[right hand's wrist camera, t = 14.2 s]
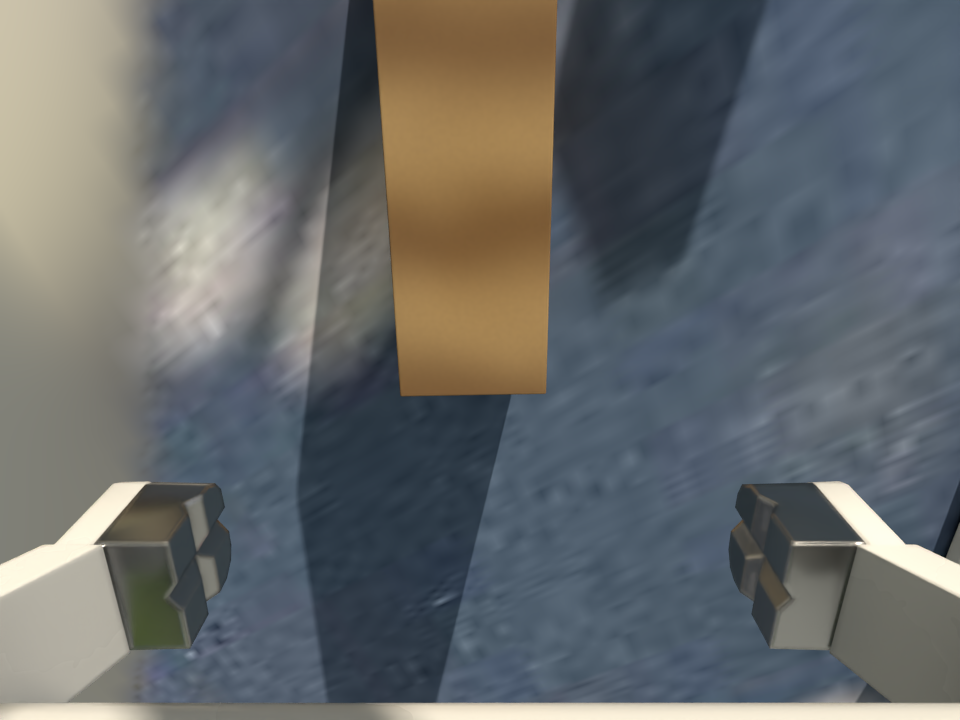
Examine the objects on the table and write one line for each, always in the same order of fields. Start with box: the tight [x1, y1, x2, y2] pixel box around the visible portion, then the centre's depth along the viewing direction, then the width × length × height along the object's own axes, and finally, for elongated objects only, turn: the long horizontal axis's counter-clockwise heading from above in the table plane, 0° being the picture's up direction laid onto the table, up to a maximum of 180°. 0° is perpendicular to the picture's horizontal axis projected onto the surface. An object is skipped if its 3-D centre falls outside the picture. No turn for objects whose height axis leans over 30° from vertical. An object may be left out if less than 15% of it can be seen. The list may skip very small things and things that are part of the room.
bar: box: [373, 0, 557, 396], centre depth 24 cm, size 24×6×8 cm, turn 1°
